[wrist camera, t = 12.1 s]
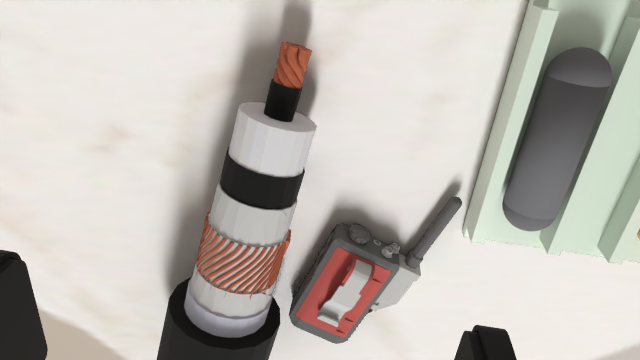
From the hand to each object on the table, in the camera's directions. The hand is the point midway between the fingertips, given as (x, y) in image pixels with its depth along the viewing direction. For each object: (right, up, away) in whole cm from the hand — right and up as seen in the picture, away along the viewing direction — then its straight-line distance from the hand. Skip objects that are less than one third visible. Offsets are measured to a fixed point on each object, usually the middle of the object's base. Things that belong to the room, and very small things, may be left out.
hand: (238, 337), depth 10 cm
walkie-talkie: (+6, -4, +34) cm, 35 cm away
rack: (+24, +6, +26) cm, 36 cm away
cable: (-4, 0, +33) cm, 34 cm away
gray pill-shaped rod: (+18, +6, +23) cm, 30 cm away
